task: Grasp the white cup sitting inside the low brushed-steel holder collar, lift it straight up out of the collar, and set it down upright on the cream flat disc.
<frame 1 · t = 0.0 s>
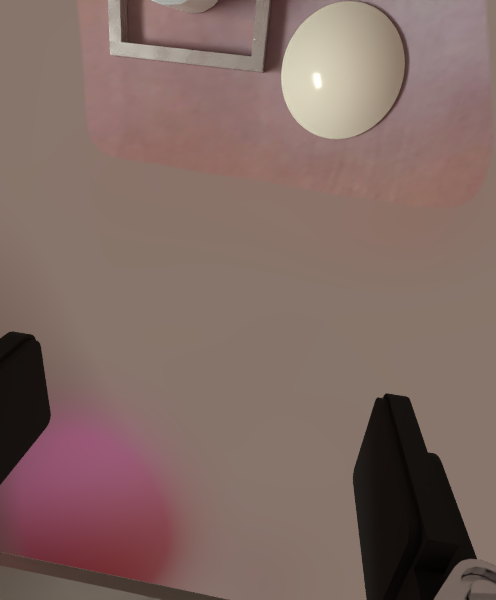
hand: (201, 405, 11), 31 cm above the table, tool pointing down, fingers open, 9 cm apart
cream flat disc: (341, 74, 34), on the table
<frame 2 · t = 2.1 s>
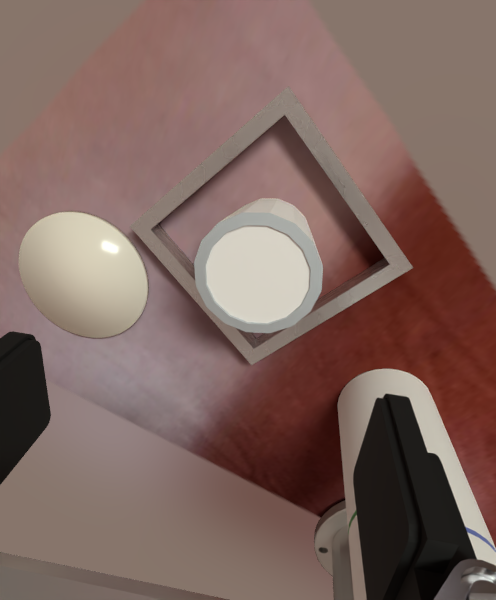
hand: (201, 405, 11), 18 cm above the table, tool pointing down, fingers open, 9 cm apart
cream flat disc: (84, 277, 31), on the table
holder collar: (269, 239, 28), on the table
white cup: (269, 238, 28), resting in holder collar
cylindrical container: (383, 405, 32), on the table
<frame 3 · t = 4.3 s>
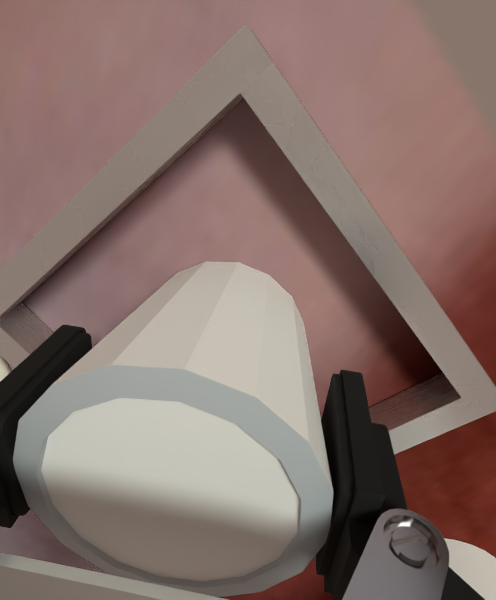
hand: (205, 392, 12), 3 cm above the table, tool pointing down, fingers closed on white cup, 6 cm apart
holder collar: (226, 334, 15), on the table
white cup: (226, 331, 15), resting in holder collar, touching gripper
cylindrical container: (425, 582, 20), on the table
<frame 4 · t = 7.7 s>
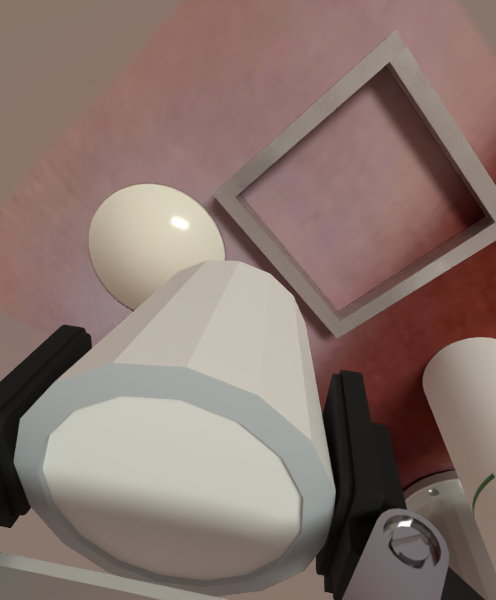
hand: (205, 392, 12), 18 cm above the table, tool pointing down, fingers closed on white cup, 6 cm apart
cream flat disc: (157, 254, 30), on the table
holder collar: (358, 203, 26), on the table
white cup: (227, 330, 15), point 14 cm above the table, touching gripper
cylindrical container: (472, 377, 31), on the table
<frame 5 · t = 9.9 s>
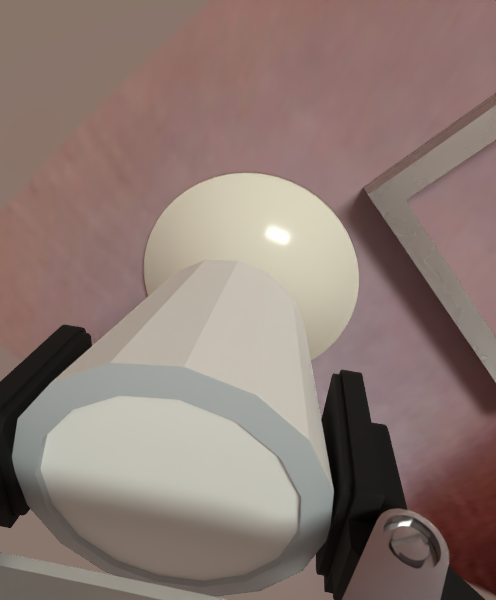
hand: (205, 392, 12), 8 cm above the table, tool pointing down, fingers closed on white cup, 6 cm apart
cream flat disc: (249, 281, 19), on the table
white cup: (226, 330, 15), point 5 cm above the table, touching gripper
when the fingers open (5 cm above the table, at t = 11.5 s): white cup drops 1 cm, resting on cream flat disc.
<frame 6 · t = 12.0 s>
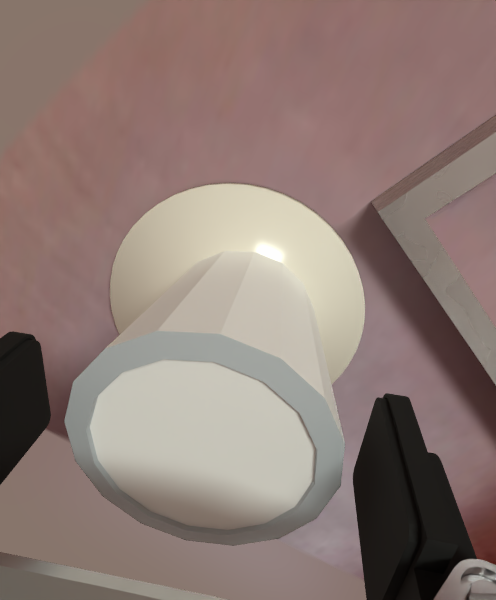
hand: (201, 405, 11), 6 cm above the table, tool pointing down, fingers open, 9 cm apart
cream flat disc: (234, 310, 16), on the table
white cup: (242, 316, 16), resting on cream flat disc
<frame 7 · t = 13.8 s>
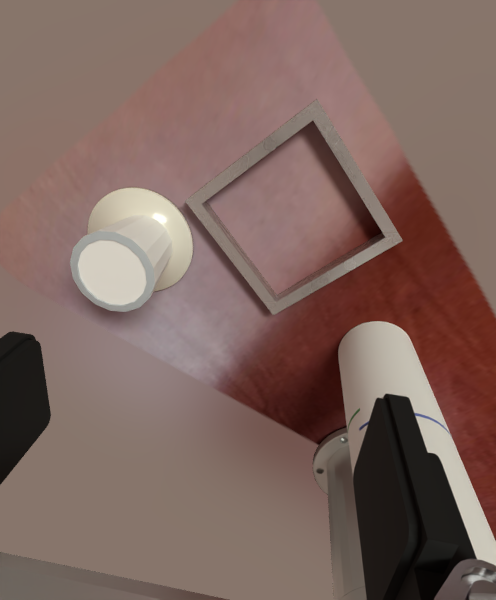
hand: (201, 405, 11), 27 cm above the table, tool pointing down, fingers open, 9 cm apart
cream flat disc: (141, 241, 38), on the table
holder collar: (293, 215, 35), on the table
white cup: (144, 243, 38), resting on cream flat disc
cylindrical container: (374, 351, 41), on the table
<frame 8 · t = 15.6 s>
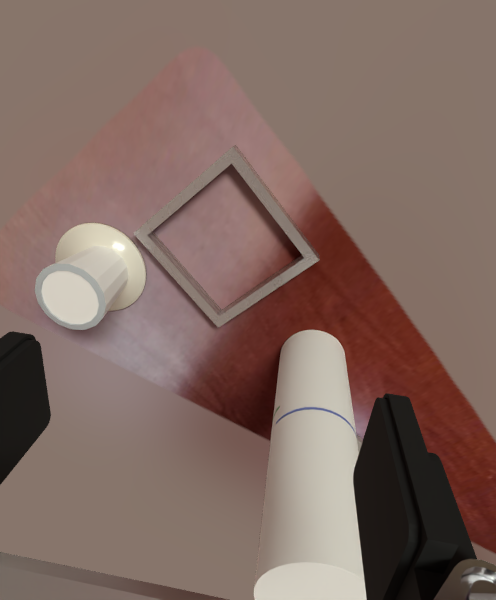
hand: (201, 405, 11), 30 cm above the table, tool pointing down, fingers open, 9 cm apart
cream flat disc: (101, 267, 44), on the table
holder collar: (227, 241, 41), on the table
white cup: (104, 269, 44), resting on cream flat disc
cylindrical container: (312, 356, 46), on the table
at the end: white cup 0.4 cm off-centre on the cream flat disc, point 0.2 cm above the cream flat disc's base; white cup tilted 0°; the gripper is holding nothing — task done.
